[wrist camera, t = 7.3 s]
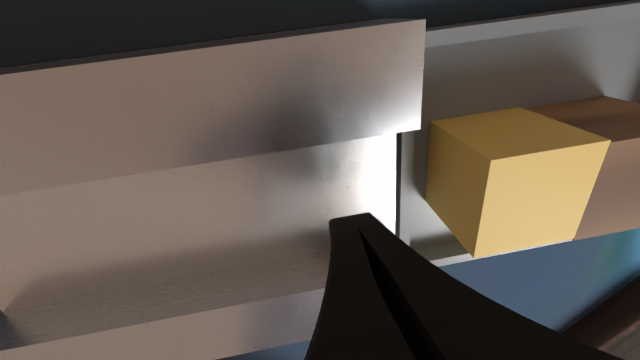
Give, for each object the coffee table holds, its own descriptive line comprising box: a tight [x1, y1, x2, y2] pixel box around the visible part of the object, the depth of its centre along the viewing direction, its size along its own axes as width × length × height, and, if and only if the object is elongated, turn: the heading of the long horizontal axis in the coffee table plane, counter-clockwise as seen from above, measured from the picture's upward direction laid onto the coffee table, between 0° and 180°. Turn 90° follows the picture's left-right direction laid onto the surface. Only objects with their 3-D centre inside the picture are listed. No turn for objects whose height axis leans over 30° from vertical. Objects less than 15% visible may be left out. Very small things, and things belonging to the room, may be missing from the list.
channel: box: [0, 19, 426, 360], centre depth 12 cm, size 12×17×4 cm
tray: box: [395, 0, 640, 267], centre depth 14 cm, size 11×12×1 cm
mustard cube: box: [425, 107, 611, 258], centre depth 12 cm, size 4×4×4 cm
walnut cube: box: [524, 96, 640, 241], centre depth 12 cm, size 4×4×4 cm
